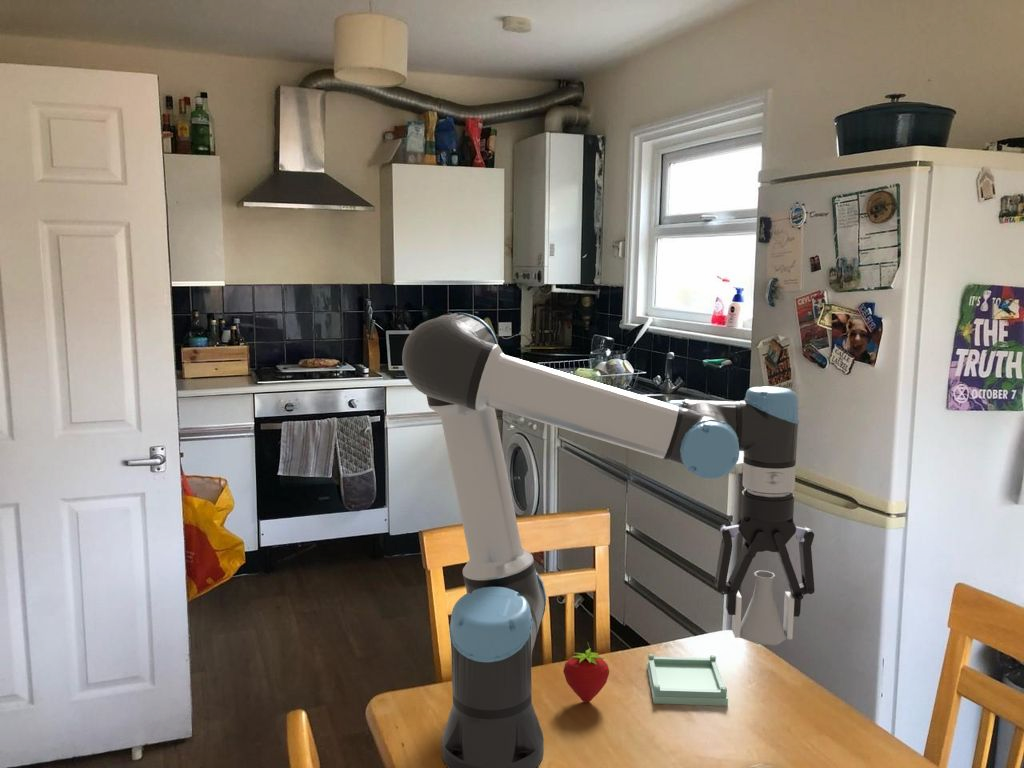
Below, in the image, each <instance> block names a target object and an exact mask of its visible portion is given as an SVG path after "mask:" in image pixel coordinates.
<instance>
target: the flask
mask: <svg viewBox="0 0 1024 768" xmlns="http://www.w3.org/2000/svg"><path fill="white" fill-rule="evenodd" d="M753 576H754V579H755V581H754V582H755V583H754V584H755V585H754V589H753V593H752V597H751V599H750V601H749V604H748V607H747V609H746V611H745V613H744V616H743V617H742V619H741V630H740V638H739V639H742V640H744V641H748V642H749V643H754V644H757V645H767V646H778V645H780V644H781V643H783V642H784V641H786V640H787V638H786V636H785V633H784V630H783V624H782V621H781V619H780V614H779V610H778V607H777V605H776V600H775V593H774V581H775V580H776V573H774V572H771V571H769V570H757V571H754V572H753Z"/></svg>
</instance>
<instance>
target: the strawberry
mask: <svg viewBox="0 0 1024 768" xmlns="http://www.w3.org/2000/svg"><path fill="white" fill-rule="evenodd" d="M587 646H588V649H586V650H585V653H584V652H583V653H582V652H572V654H573V656H571V657H570V658H569V659H568V660H567V661H566V662H565V663H564V667H563V675H564V679H565V681H566V683H567V685H568V686H569V687H570V689H571V690H572V691H573V692H574V693H575V694H576V696H578V697H579V699H580V700H581V701H582V702H584V703H590V702H591V701H593V699H594V698H595V697H596V696H597V695H598V694H599V693H600V692H601V690H602V689H603V688H604V687H605V685H606V683H607V682H608V678H609V675H610V668H609V665H608V663H607V662H606V661H605V660H604V659H605V658H604V657H602V656H599V654H600V653H598V652H592V650H591V649H592V648H590V644H589V642H587Z"/></svg>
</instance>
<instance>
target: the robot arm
mask: <svg viewBox="0 0 1024 768" xmlns="http://www.w3.org/2000/svg"><path fill="white" fill-rule="evenodd" d="M401 360H402V367H403V370H404V373H405V376H406V377H407V379H408V381H409V383H410V384H411V385H412V386H413V387H414V388H415V389H416V390H417V391H418V392H421V393H422V394H423V395H426V399H427V400H426V401H427V405H428V407H429V409H431V410H432V411H434V412H435V413H436V414H438V415H439V416H440V420H441V425H442V430H443V434H444V439H445V444H446V448H447V449H446V450H447V454H448V459H449V464H450V469H451V473H452V479H453V484H454V488H455V493H456V499H457V504H458V508H459V512H460V513H459V514H460V519H461V523H462V527H463V528H462V529H463V534H464V539H465V542H466V547H467V553H468V557H469V558H468V561H467V563H466V564H465V566H464V567H463V568H462V575H463V581H464V586H465V590H466V591H465V592H466V593H465V594H464V595H462V596H461V597H460V598H459V599H458V600H457V601H456V602H455V604H454V606H453V607H452V611H451V617H450V623H449V638H450V645H451V647H450V649H451V650H450V651H451V682H452V683H451V685H452V688H451V689H452V692H451V693H452V705H451V708H450V712H449V714H448V718H447V720H446V724H445V727H444V729H443V730H444V731H443V733H442V736H441V757H443V758H442V761H443V760H444V761H443V763H444V762H445V763H446V765H447V766H448V767H449V768H537V767H538V766H539V765H540V764H541V762H542V761H543V758H544V752H545V751H544V750H545V749H544V748H545V747H544V745H545V743H544V740H545V739H544V734H543V730H542V728H541V725H540V722H539V719H538V716H537V714H536V710H535V708H534V705H533V701H532V700H533V699H532V697H533V696H532V690H533V689H532V682H533V681H532V658H533V657H532V656H533V649H534V647H535V642H536V639H537V635H538V632H539V629H540V625H541V622H542V620H543V618H544V615H545V612H546V606H547V594H546V589H545V585H544V582H543V580H542V578H541V576H540V574H539V573H538V572H537V570H536V564H535V560H534V556H533V554H531V552H529V551H527V550H525V548H523V547H522V541H521V537H520V533H519V532H520V531H519V527H518V521H517V516H516V511H515V506H514V502H513V497H512V496H513V495H512V491H511V486H510V485H511V484H510V481H509V476H508V470H507V464H506V460H505V456H504V455H505V454H504V450H503V444H502V439H501V434H500V429H499V425H498V424H499V423H498V419H497V414H496V409H497V410H500V411H503V412H507V413H510V414H512V415H516V416H518V417H519V416H520V417H523V418H526V419H529V420H533V421H536V422H539V423H543V424H545V425H546V424H547V425H550V426H553V427H556V428H559V429H562V430H566V431H569V432H572V433H577V434H579V435H583V436H586V437H589V438H593V439H595V440H600V441H603V442H606V443H609V444H612V445H616V446H619V447H622V448H626V449H629V450H633V451H636V452H639V453H642V454H646V455H650V456H653V457H656V458H659V459H662V460H666V461H669V462H671V463H675V464H678V465H681V466H684V467H685V468H686V469H687V470H688V471H689V472H691V473H692V474H693V475H694V476H697V477H698V478H702V479H706V480H716V479H718V478H719V479H720V478H722V477H725V476H726V475H728V474H729V473H730V472H731V471H733V469H734V468H735V467H736V465H737V463H738V461H739V458H740V452H743V463H742V486H743V487H744V489H743V490H742V491H741V506H740V507H741V510H740V511H741V512H740V518H739V521H737V524H734V525H729V526H727V525H726V524H721V525H720V526H719V532H720V534H719V535H720V537H721V541H720V542H721V543H720V547H719V554H718V560H717V565H716V572H715V578H714V584H715V587H716V589H717V591H718V592H720V593H725V594H726V595H725V596H726V599H725V600H726V602H725V609H726V611H727V614H728V615H729V616H732V620H731V631H732V634H733V636H734V638H739V639H741V638H740V630H741V622H742V606H743V604H742V603H743V602H742V600H743V599H742V598H743V597H742V595H741V593H740V591H739V590H740V588H741V585H742V583H743V581H744V579H745V576H746V575H747V572H748V570H749V568H750V566H751V563H752V561H753V559H754V558H755V557H756V555H757V553H759V552H760V553H762V552H765V551H767V552H771V553H777V556H778V560H779V563H780V564H781V568H782V569H783V573H784V575H785V579H786V582H787V585H788V587H789V589H790V591H784V602H783V622H782V623H783V624H782V627H783V630H784V633H785V637H786V640H793V636H794V635H793V633H794V632H793V631H794V618H797V617H798V618H799V617H800V615H801V608H802V606H801V605H802V604H801V603H802V602H801V601H802V600H803V599H804V596H806V595H807V594H809V595H813V594H814V593H815V577H814V566H813V554H812V553H813V552H812V546H813V542H814V539H815V533H814V531H813V530H812V529H811V528H810V527H809V526H807V525H805V526H803V527H802V526H797V525H796V524H795V522H794V513H795V512H794V511H795V495H794V493H793V492H794V490H795V489H796V466H797V465H796V464H797V463H796V462H797V461H796V460H797V446H798V431H799V424H800V420H799V397H798V394H797V393H796V392H795V391H794V390H792V389H790V388H786V387H781V386H780V387H779V386H768V385H767V386H766V385H765V386H752V387H750V388H748V389H747V390H746V393H745V397H744V399H743V400H733V401H731V400H729V401H728V400H706V399H705V400H704V399H703V400H702V399H690V398H685V399H673V400H668V401H661V400H658V399H655V398H652V397H649V396H646V395H642V394H638V393H636V392H632V391H629V390H625V389H622V388H619V387H615V386H612V385H608V384H604V383H601V382H600V381H599V382H598V381H594V380H592V379H588V378H584V377H581V376H578V375H575V374H571V373H567V372H564V371H561V370H558V369H554V368H551V367H548V366H545V365H541V364H537V363H534V362H530V361H528V360H523V359H520V358H518V357H514V356H510V355H508V354H505V353H504V352H503V350H502V348H501V347H500V345H499V344H498V340H497V337H496V335H495V332H494V331H493V329H492V328H491V327H490V325H489V324H488V323H486V322H485V321H484V320H483V319H481V318H480V317H478V316H475V315H473V314H469V313H465V312H454V313H452V312H448V313H447V314H443V315H440V316H438V317H435V318H432V319H429V320H426V321H424V322H421V323H420V324H419V325H417V326H416V327H415V328H414V329H413V330H412V331H411V332H410V334H409V335H408V336H407V338H406V340H405V342H404V346H403V349H402V355H401ZM738 534H740V535H741V536H742V538H743V539H744V543H743V545H742V548H741V551H740V554H739V556H738V559H737V561H736V562H735V565H734V567H733V570H732V572H731V574H730V576H729V578H728V573H729V569H730V568H729V567H730V562H731V557H732V551H733V542H734V541H736V539H737V535H738ZM793 536H795V539H796V540H797V541H798V549H799V550H798V551H799V563H800V564H799V565H800V573H801V574H800V575H801V583H799V581H798V578H797V575H796V572H795V569H794V567H793V564H792V562H791V558H790V554H789V551H788V548H787V546H786V545H787V544H788V542H789V541H790V540H791V539H792V538H793ZM727 580H728V581H727ZM445 763H444V764H445ZM446 765H445V766H446ZM447 766H446V767H447ZM448 767H447V768H448Z"/></svg>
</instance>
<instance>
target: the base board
mask: <svg viewBox="0 0 1024 768" xmlns="http://www.w3.org/2000/svg"><path fill="white" fill-rule="evenodd" d="M647 657H648V661H646V668H647V669H646V670H647V675H648V680H649V685H650V691H651V697H652V703H653V704H659V705H660V704H661V705H662V704H663V705H689V706H690V705H692V706H696V705H697V706H719V707H720V706H726V707H727V706H729V698H728V695H727V694H728V693H727V692H728V688H727V687H725V683H724V681H723V677H722V675H721V672H720V669H719V666H718V664H717V656H715V655H713V654H712V655H709V657H706V658H705V657H683V656H682V657H679V656H678V657H677V656H669V657H668V656H655V655H654V654H653V653H648V656H647Z"/></svg>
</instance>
